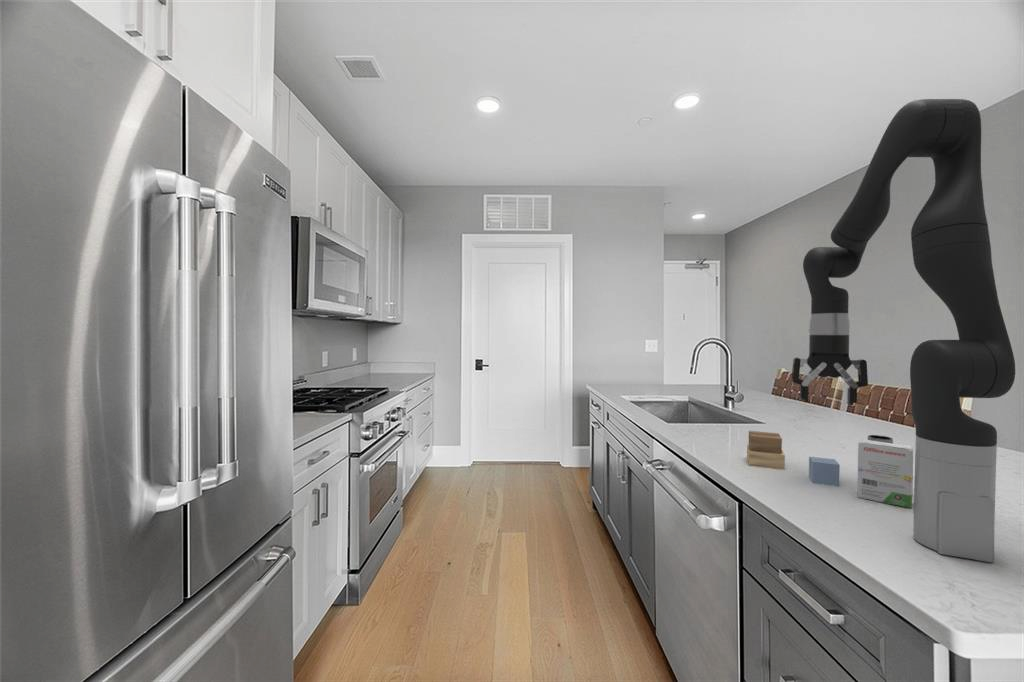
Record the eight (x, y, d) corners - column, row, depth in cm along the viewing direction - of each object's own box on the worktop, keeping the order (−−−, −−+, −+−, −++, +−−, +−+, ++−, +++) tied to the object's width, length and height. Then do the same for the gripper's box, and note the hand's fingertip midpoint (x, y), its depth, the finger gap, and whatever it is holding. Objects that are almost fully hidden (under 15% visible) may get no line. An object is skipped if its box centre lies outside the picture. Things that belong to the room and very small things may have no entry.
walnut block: (781, 454, 113) (781, 438, 113) (750, 451, 116) (750, 435, 116) (778, 448, 119) (778, 433, 119) (748, 444, 122) (748, 430, 122)
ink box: (913, 502, 90) (914, 445, 90) (911, 509, 87) (912, 449, 87) (860, 491, 97) (861, 437, 96) (856, 497, 93) (857, 441, 93)
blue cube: (839, 486, 100) (839, 464, 100) (812, 483, 102) (813, 461, 102) (834, 480, 104) (834, 459, 104) (808, 477, 107) (809, 456, 107)
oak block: (784, 470, 112) (784, 455, 112) (748, 466, 116) (748, 451, 115) (780, 462, 119) (780, 447, 119) (747, 458, 123) (747, 444, 123)
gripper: (795, 333, 103) (793, 403, 103) (872, 333, 96) (870, 408, 97) (790, 333, 109) (789, 399, 110) (862, 333, 103) (861, 403, 103)
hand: (827, 403), depth 103 cm, fingers open, 8 cm apart
